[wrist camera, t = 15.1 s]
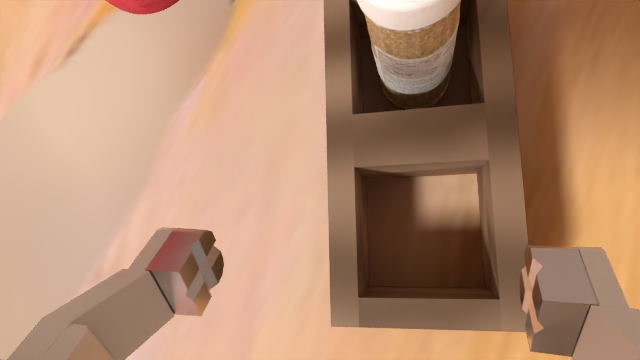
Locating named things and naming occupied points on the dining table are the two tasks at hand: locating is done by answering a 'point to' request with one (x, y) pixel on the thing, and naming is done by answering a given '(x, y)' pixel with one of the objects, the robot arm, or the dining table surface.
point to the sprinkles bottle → (413, 47)
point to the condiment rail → (425, 160)
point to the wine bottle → (142, 5)
